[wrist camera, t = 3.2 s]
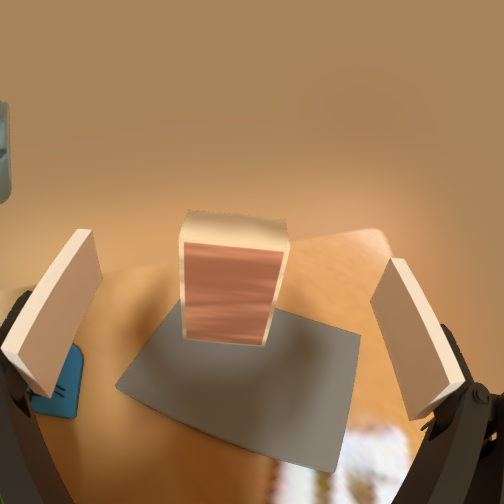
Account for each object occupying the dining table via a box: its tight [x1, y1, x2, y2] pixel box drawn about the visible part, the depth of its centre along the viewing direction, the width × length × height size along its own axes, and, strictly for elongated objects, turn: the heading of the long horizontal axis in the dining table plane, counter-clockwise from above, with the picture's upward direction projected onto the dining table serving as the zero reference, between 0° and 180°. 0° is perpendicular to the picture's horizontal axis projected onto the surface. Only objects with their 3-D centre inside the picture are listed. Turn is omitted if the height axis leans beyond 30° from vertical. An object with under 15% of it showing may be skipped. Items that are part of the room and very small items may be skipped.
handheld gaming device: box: [26, 344, 83, 418], centre depth 21 cm, size 8×1×15 cm
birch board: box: [179, 210, 290, 347], centre depth 27 cm, size 4×8×12 cm, turn 90°
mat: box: [115, 298, 361, 473], centre depth 27 cm, size 20×16×1 cm
